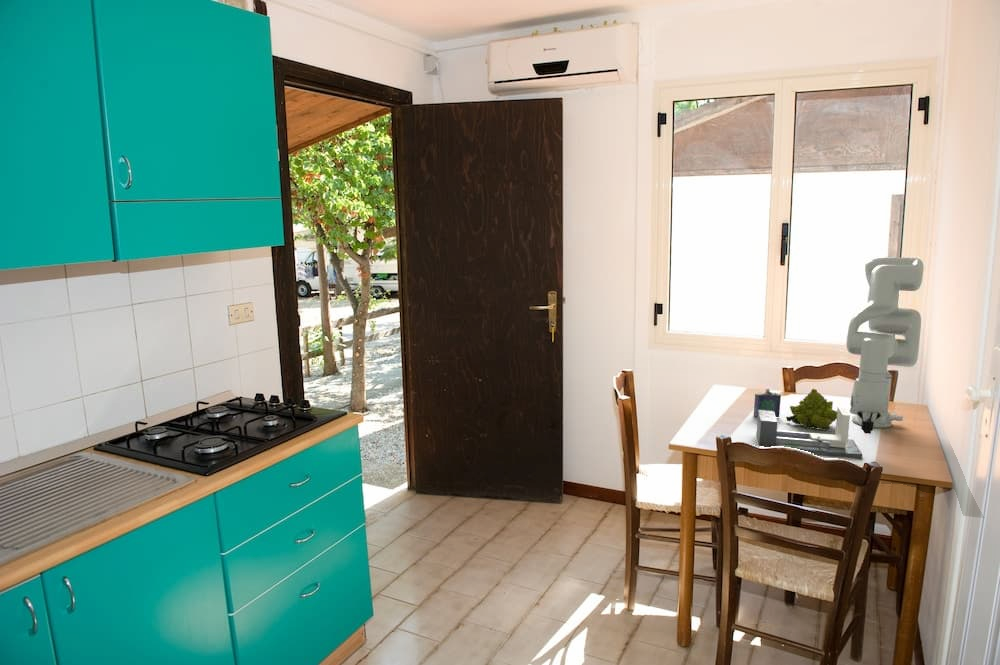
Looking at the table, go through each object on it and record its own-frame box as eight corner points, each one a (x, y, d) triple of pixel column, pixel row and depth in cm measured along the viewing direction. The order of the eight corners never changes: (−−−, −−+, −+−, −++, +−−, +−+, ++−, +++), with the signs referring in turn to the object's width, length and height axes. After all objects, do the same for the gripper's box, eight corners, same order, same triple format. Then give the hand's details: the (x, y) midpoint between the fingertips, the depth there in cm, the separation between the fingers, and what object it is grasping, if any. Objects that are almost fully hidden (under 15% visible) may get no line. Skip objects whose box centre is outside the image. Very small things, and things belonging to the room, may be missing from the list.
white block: (841, 440, 217) (844, 407, 215) (847, 451, 207) (851, 417, 205) (808, 437, 220) (810, 405, 218) (813, 448, 210) (815, 414, 208)
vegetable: (775, 412, 240) (801, 379, 238) (801, 429, 247) (826, 397, 244) (802, 432, 227) (829, 397, 224) (828, 450, 233) (856, 416, 231)
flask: (754, 417, 247) (756, 390, 245) (752, 415, 250) (754, 387, 248) (780, 418, 246) (782, 390, 244) (777, 416, 249) (779, 388, 247)
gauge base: (852, 443, 219) (855, 416, 217) (862, 459, 206) (864, 430, 204) (756, 435, 228) (758, 409, 226) (759, 449, 214) (761, 421, 213)
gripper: (895, 375, 208) (889, 430, 212) (843, 372, 213) (838, 426, 216) (902, 381, 201) (896, 438, 205) (848, 377, 206) (843, 434, 209)
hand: (866, 432), depth 210 cm, fingers closed
